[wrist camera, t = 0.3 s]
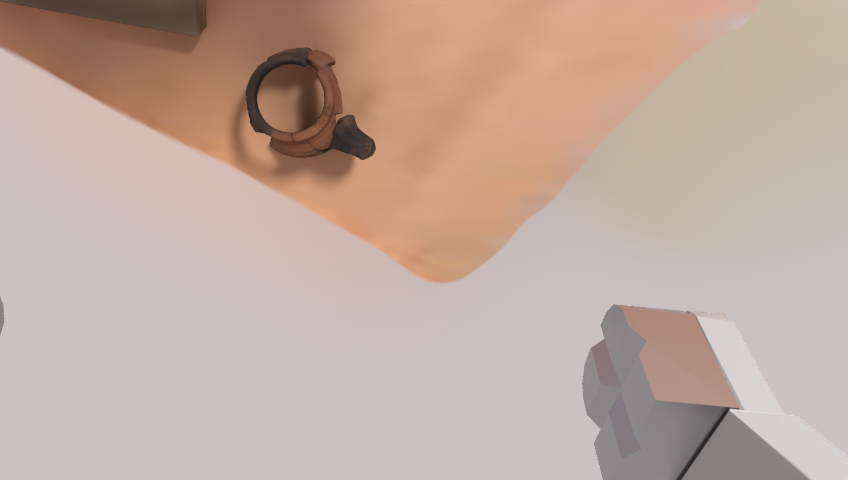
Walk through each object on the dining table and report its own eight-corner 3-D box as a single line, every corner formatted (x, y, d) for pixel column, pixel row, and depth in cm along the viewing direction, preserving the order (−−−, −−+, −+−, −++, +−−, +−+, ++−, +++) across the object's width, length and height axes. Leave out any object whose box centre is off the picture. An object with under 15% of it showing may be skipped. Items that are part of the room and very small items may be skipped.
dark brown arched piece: (250, 132, 59) (217, 126, 51) (291, 40, 58) (264, 19, 50) (363, 187, 59) (348, 191, 51) (406, 96, 58) (398, 85, 50)
